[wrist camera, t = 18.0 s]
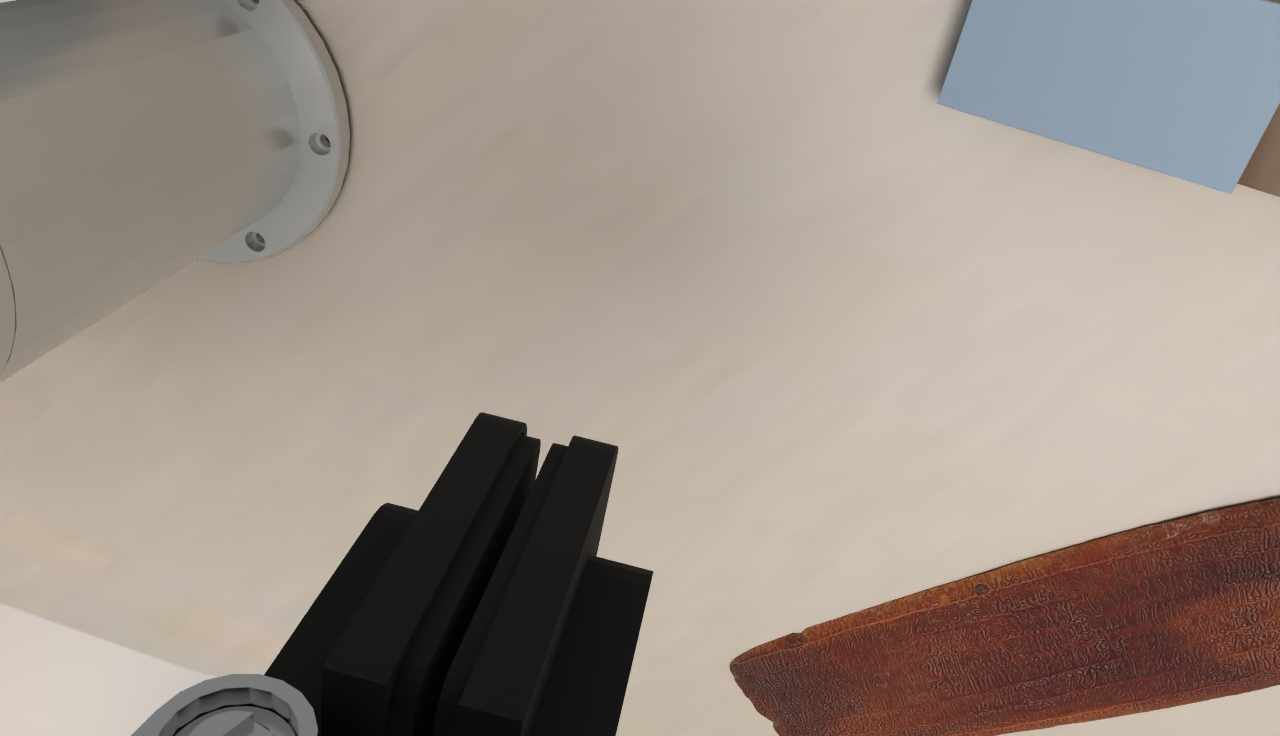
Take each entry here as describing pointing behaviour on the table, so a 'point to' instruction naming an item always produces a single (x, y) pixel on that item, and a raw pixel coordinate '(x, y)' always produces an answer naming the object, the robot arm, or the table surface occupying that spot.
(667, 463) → the table surface
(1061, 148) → the table surface
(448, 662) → the robot arm
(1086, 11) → the domino
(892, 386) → the table surface
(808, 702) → the wooden tablet
